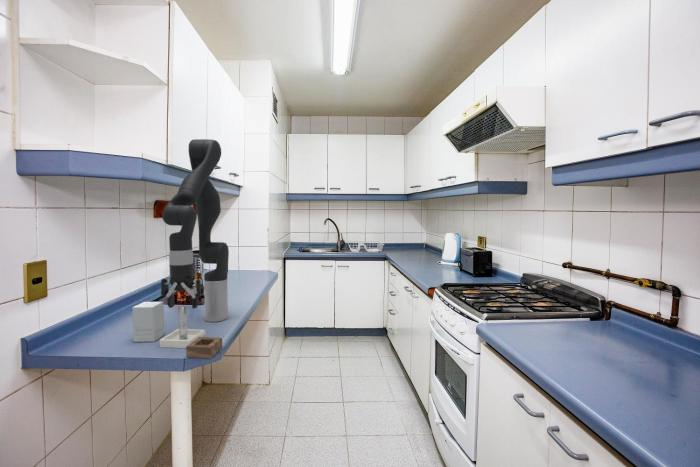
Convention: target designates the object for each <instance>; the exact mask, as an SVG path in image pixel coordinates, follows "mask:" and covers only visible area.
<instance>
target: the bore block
mask: <svg viewBox="0 0 700 467" xmlns="http://www.w3.org/2000/svg"><path fill="white" fill-rule="evenodd" d="M222 349H223V337H209V336H208V337H207V336H205V337H199V338H197V339H196V340H195V341H193V342H192V343H190V344H189V345H188V346H186V348H185V351H186V352H185V353H186V356H185V357H186V358H189V359H190V358H192V359H193V358H194V359H213V357H214V356H216V354H218V352H219V351H221V350H222Z"/></svg>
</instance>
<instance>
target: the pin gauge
mask: <svg viewBox="0 0 700 467" xmlns="http://www.w3.org/2000/svg"><path fill="white" fill-rule="evenodd" d="M178 329H179V340H187V339H188V334H187V329H188V305H185V304H184V305H179V306H178Z"/></svg>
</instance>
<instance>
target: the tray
mask: <svg viewBox="0 0 700 467" xmlns="http://www.w3.org/2000/svg"><path fill="white" fill-rule="evenodd" d="M187 334H188V339H187V340H179V328H177V329H175V330H173V331H172V332H170V333H169V334H166V335H165V336H164V337H161V338H159V339H158V340H159V348H168V349H169V348H174V349H186V346H188V345H189V344H190V343H192V342H193V341H195V340H196V339H197V338H199V337H206V329H195V328H194V329H191V328H187Z"/></svg>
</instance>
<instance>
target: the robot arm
mask: <svg viewBox="0 0 700 467" xmlns="http://www.w3.org/2000/svg"><path fill="white" fill-rule="evenodd" d="M188 157H189V162H190V166H191V172H189V173H188V174H187V175H186V176H185V177H184V179H183V180H182V181H181V184H180V186H179V188H178V190H177V193H176V194H175V195H174V196H173V197H172V198H171V199H170V200H169V202H167V204H166V205H165V207H164V208H163V210H162V220H163V222H164V223H165V224H166V225H168V226H180V228H181V229H180V231H178V232H172V233H171V234H170V235H169V237H168V239H169V242H168V244H169V245H168V246H169V256H168V262H169V263H168V264H169V276H170V278H169V277H164V278H162V279H161V280H160V281H161V283H160V284H161V286H160V288H161V290H160V291H161V292H160V294H161V296H163V297H166V298H167V300H166V302H167V306H168V308H169V309H172V308H174V307H175V296H174V295H175V293H176V292H186V293H187V294H189V296H191V297H192V298H191V305H192V306H191V307H192V309H196V308H198V307H199V305H200V302H199V298H200V297H202V296H204V321H206V322H209V323H212V322H215V323H217V322H221V321H225V320H227V319H228V317H229V307H228V306H229V305H228V304H229V303H228V296H229V295H228V292H229V291H228V289H229V288H228V274H229V273H228V272H229V257H230V256H229V252H230V251H229V246H228V244H227V243H226V242H224V241H216V242H215V241H212V240H211V236H212V235H211V234H212V230H213V228H214V225H215V224H216V222H217V220H218V219H219V217H220V215H221V209H222V207H221V199H220V198H221V197H220V194H219V192H218V190H217V188H216V187H215V186H214V185H213V184H212V182H211V181H210V179H209V178H210V176H211V175H212V174H213V171H214V170H215V168H216V167H217V165H218V164H219V162H220V159H221V158H222V147H221V145H220V143H219V142H218V141H217V140H215V139H209V138H208V139H206V138H205V139H202V138H201V139H199V138H198V139H196V138H195V139H194V138H193V139H190V142H189V144H188ZM194 206H195V207H196V209H195V208H194ZM196 224H198V254H199V259H200V261H201V262H202V263H203V264H209V265H211V264H214V265H215V264H216V267H215V268H214V269H213V270H211V271H208V272H205V273H204V275H203V278H199V279H196V278H194V274H195V270H194V269H195V267H194V265H195V264H194V262H195V261H194V252H193V235H194V230H195V227H196ZM170 285H171V287H170ZM195 286H196V287H195ZM169 288H170V289H169Z"/></svg>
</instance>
